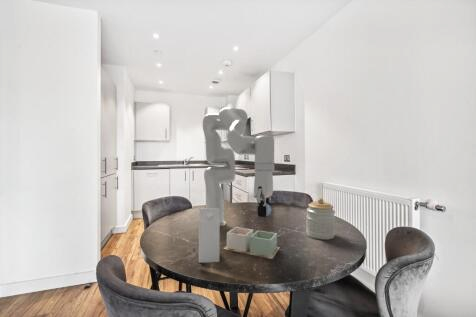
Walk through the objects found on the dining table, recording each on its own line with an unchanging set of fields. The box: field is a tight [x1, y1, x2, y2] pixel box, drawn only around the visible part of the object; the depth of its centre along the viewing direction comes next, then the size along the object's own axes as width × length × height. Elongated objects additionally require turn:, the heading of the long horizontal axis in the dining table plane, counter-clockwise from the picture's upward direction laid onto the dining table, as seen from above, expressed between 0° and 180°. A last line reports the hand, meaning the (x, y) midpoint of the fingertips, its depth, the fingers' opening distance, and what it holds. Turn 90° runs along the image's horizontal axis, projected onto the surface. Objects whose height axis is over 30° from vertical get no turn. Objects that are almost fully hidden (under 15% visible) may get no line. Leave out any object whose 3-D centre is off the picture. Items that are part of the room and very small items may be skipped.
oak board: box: [222, 245, 281, 260], centre depth 90 cm, size 20×11×1 cm, turn 65°
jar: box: [305, 198, 336, 241], centre depth 108 cm, size 13×13×18 cm
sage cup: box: [250, 230, 278, 257], centre depth 88 cm, size 8×8×6 cm
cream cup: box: [226, 226, 254, 252], centre depth 92 cm, size 8×8×6 cm
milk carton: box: [198, 207, 221, 266], centre depth 81 cm, size 7×7×19 cm
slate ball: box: [265, 203, 272, 217], centre depth 87 cm, size 5×5×5 cm
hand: (264, 214), depth 87 cm, fingers closed on slate ball, 4 cm apart
